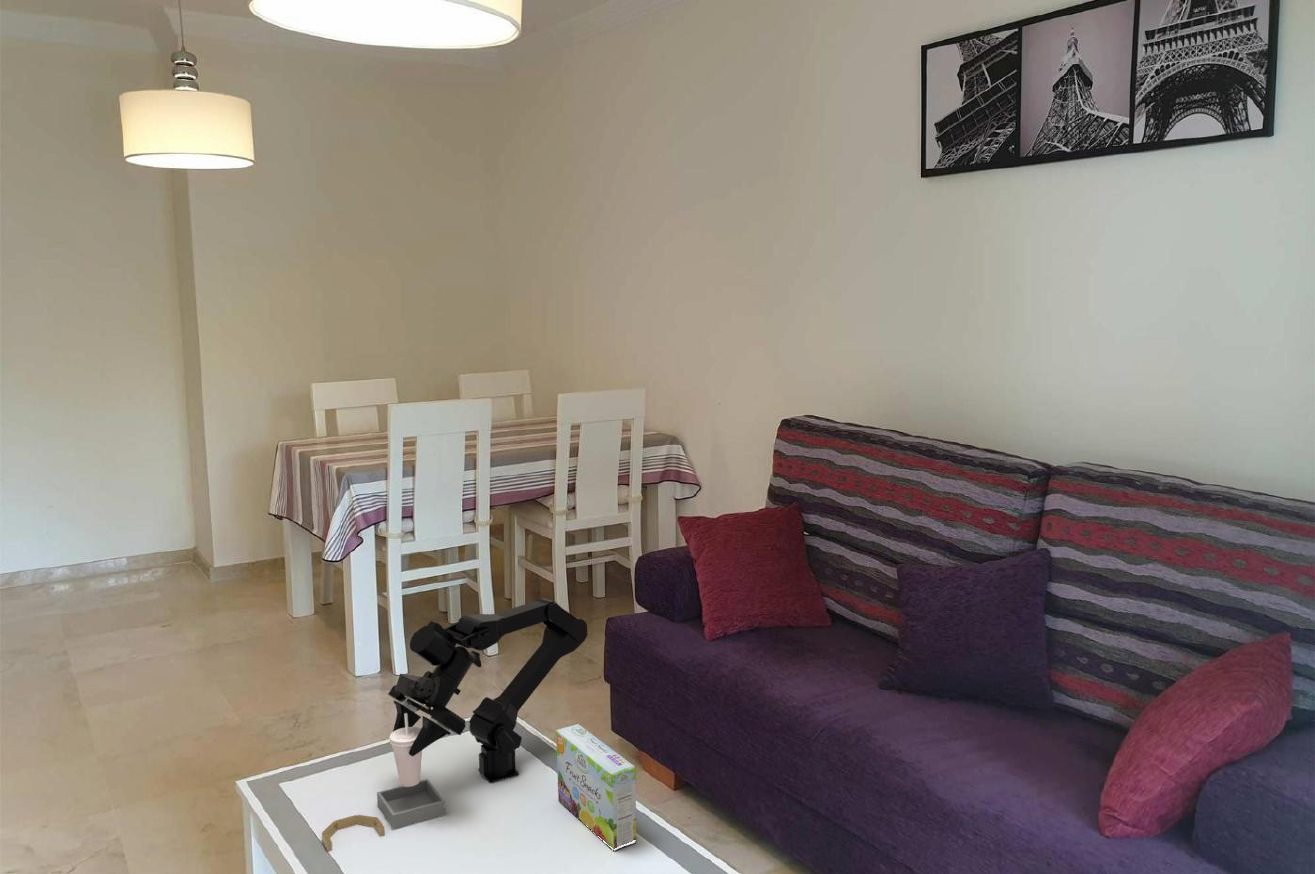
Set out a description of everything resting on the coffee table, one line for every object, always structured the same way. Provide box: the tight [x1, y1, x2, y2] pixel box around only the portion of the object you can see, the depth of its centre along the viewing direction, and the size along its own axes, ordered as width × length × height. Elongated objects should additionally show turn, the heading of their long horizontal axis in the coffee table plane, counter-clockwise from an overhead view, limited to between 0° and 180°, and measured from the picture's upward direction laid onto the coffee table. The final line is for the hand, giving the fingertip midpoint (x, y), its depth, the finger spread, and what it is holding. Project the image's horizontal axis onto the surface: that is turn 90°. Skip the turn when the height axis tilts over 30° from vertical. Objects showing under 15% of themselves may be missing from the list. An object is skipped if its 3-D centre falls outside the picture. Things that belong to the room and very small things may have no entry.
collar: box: [321, 814, 386, 852], centre depth 184 cm, size 10×7×2 cm
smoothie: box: [389, 713, 423, 787], centre depth 190 cm, size 6×6×14 cm
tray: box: [376, 778, 447, 830], centre depth 192 cm, size 10×10×3 cm
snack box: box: [555, 723, 637, 849], centre depth 187 cm, size 21×6×15 cm, turn 34°
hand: (401, 749), depth 189 cm, fingers closed on smoothie, 6 cm apart
